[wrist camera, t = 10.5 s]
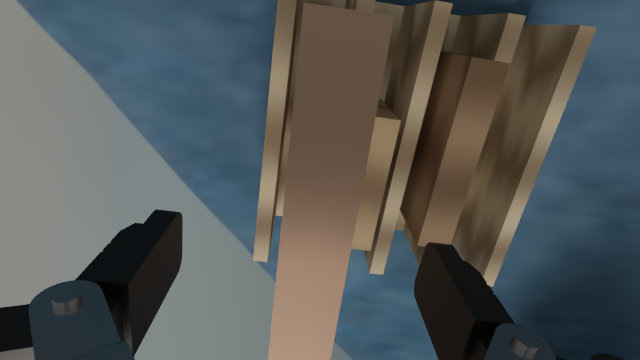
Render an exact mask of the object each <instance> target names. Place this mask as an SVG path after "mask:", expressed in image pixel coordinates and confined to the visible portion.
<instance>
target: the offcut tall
mask: <svg viewBox="0 0 640 360" xmlns="http://www.w3.org/2000/svg"><path fill="white" fill-rule="evenodd" d="M509 66H510V63H505V62H500V61H495V60H489V59H484V58H479V57H474V56H469V55H463V54H458V53H453V52H448V51H442V50H441V52H440V56H439V60H438V64H437V67H436V71H435V75H434V79H433V83H432V87H431V91H430V95H429V98H428V102H427V106H426V110H425V114H424V118H423V122H422V125H421V129H420V133H419V137H418V141H417V145H416V149H415V153H414V156H413V160H412V164H411V168H410V172H409V176H408V180H407V184H406V187H405V191H404V195H403V199H402V203H401V207H400V211H401V213H402V215H403V217H404V220H405V222H406V224H407V226H408V228H409V230H410V232H411V234H412V236H413V238H414V240H415V242H416V244H417V246H424V247H426V245H427V243H429V242H433V243H442V244H450V245H451V242H452V239H453V236H454V233H455V230H456V227H457V224H458V221H459V217H460V214H461V211H462V208H463V205H464V202H465V199H466V196H467V193H468V190H469V187H470V184H471V181H472V178H473V175H474V172H475V169H476V166H477V163H478V160H479V157H480V154H481V151H482V148H483V145H484V142H485V139H486V136H487V133H488V130H489V127H490V124H491V121H492V118H493V115H494V112H495V109H496V106H497V102H498V99H499V96H500V93H501V90H502V87H503V84H504V81H505V78H506V75H507V72H508V69H509Z"/></svg>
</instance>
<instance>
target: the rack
mask: <svg viewBox="0 0 640 360" xmlns="http://www.w3.org/2000/svg"><path fill="white" fill-rule="evenodd" d="M303 3H309V4H316V5H323V6H330V7H337V8H344V9H351V10H359V11H366V12H373V13H380V14H387V15H394V16H395V17H394V22H393V27H392V33H391V38H390V43H389V49H388V54H387V60H386V65H385V70H384V76H383V81H382V86H381V92H380V97H379V98H380V99H381V100H382V101H383V102H384V103H385V104H386V105H387V106H388V107H389V108H390V109H391V110H392V112H393V113H394V114H395V115H396V116H397V117H398V118H399V119H400V120H401V123H400V127H399V131H398V136H397V140H396V144H395V148H394V153H393V157H392V161H391V165H390V170H389V174H388V178H387V182H386V187H385V191H384V195H383V199H382V204H381V208H380V212H379V216H378V220H377V225H376V229H375V233H374V237H373V242H372V246H371V250H370V251H366V250H364V252H365V257H366V261H367V265H368V269H369V273H373V274H382V275H383V273H384V269H385V265H386V261H387V257H388V253H389V249H390V245H391V242H392V238H393V234H394V230H395V229H396V230H403V231H404V233H405V235H406V237H407V240H408V242H409V244H410V246H411V248H412V251H413V253H414V255H415V257H416V259H417V262H418V264H419V266H420V263H421V259H422V256H423V253H424V249H425V247H424V246H417V244H416V242H415V240H414V238H413V236H412V234H411V232H410V230H409V228H408V226H407V224H406V222H405V220H404V217H403V215H402V213H401V211H400V207H401V203H402V199H403V195H404V191H405V187H406V184H407V180H408V176H409V172H410V168H411V164H412V160H413V156H414V153H415V149H416V145H417V141H418V137H419V133H420V129H421V125H422V122H423V118H424V114H425V110H426V106H427V102H428V98H429V95H430V91H431V87H432V83H433V79H434V75H435V71H436V67H437V64H438V60H439V56H440V52H441V50H442V51H448V52H453V53H458V54H463V55H469V56H474V57H479V58H484V59H489V60H495V61H500V62H505V63H510V66H509V69H508V72H507V75H506V78H505V81H504V84H503V87H502V90H501V93H500V96H499V99H498V102H497V106H496V109H495V112H494V115H493V118H492V121H491V124H490V127H489V130H488V133H487V136H486V139H485V142H484V145H483V148H482V151H481V154H480V157H479V160H478V163H477V166H476V169H475V172H474V175H473V178H472V181H471V184H470V187H469V190H468V193H467V196H466V199H465V202H464V205H463V208H462V211H461V214H460V217H459V221H458V224H457V227H456V230H455V233H454V236H453V239H452V243H453V244H454V246H455V247H456V249H457V250H458V252H459V254H460V255H461V257H462V258H463V260H464V261H467V262H468V263H469V264H471V265H472V266H473V267H474V268H476V269H477V270H478V271H479V272H480V273H481V275H482V276H483V278H484V279H485V281H486V282H487V285H489V286H493V285H494V283H495V280H496V278H497V275H498V273H499V270H500V268H501V265H502V263H503V260H504V258H505V256H506V253H507V251H508V248H509V246H510V243H511V241H512V238H513V236H514V233H515V231H516V228H517V226H518V223H519V221H520V218H521V216H522V213H523V211H524V208H525V206H526V203H527V201H528V198H529V196H530V193H531V191H532V188H533V186H534V183H535V181H536V178H537V176H538V173H539V171H540V168H541V166H542V163H543V161H544V158H545V156H546V153H547V151H548V149H549V146H550V144H551V141H552V139H553V136H554V134H555V131H556V129H557V126H558V124H559V121H560V119H561V116H562V114H563V111H564V109H565V106H566V104H567V101H568V99H569V96H570V94H571V91H572V89H573V86H574V84H575V81H576V79H577V76H578V74H579V71H580V69H581V66H582V64H583V61H584V59H585V56H586V54H587V51H588V49H589V46H590V44H591V42H592V39H593V37H594V34H595V32H596V29H597V28H594V27H589V26H583V25H523V24H524V21H525V18H526V16H524V15H518V14H512V13H499V14H483V15H466V16H459V15H453V14H450V13H451V9H452V6H453V3H448V2H442V1H436V0H434V1H429V2H424V3H419V4H414V5H409V6H400V5H394V4H388V3H382V2H376V0H278V2H277V13H276V23H275V34H274V45H273V55H272V66H271V76H270V87H269V98H268V108H267V119H266V129H265V140H264V150H263V161H262V172H261V182H260V193H259V203H258V214H257V225H256V235H255V246H254V256H253V260H254V261H262V262H267V261H268V255H269V250H270V244H271V239H272V233H273V227H274V222H275V216H276V215H277V216H282V215H283V204H284V194H285V184H286V174H287V164H288V154H289V144H290V134H291V124H292V114H293V104H294V94H295V84H296V74H297V64H298V54H299V44H300V34H301V23H302V13H303Z"/></svg>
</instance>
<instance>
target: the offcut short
mask: <svg viewBox="0 0 640 360" xmlns="http://www.w3.org/2000/svg"><path fill="white" fill-rule="evenodd" d="M400 123H401V120H400V119H399V118H398V117H397V116H396V115H395V114H394V113H393V112H392V110H391V109H390V108H389V107H388V106H387V105H386V104H385V103H384V102H383V101H382V100H381V99H380V98H379V102H378V108H377V113H376V118H375V124H374V129H373V134H372V140H371V145H370V151H369V156H368V161H367V167H366V172H365V177H364V183H363V188H362V193H361V199H360V204H359V209H358V215H357V220H356V225H355V231H354V236H353V242H352V247H351V249H357V250H366V251H370V250H371V246H372V242H373V237H374V233H375V229H376V225H377V220H378V216H379V212H380V208H381V204H382V199H383V195H384V191H385V187H386V182H387V178H388V174H389V170H390V165H391V161H392V157H393V153H394V148H395V144H396V140H397V136H398V131H399V127H400Z"/></svg>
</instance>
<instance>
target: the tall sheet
mask: <svg viewBox="0 0 640 360" xmlns="http://www.w3.org/2000/svg"><path fill="white" fill-rule="evenodd" d="M394 17H395V16H394V15H387V14H380V13H373V12H366V11H359V10H351V9H344V8H337V7H330V6H323V5H316V4H309V3H303V13H302V23H301V34H300V44H299V54H298V64H297V74H296V84H295V94H294V104H293V114H292V124H291V134H290V144H289V154H288V164H287V174H286V184H285V194H284V204H283V215H282V225H281V235H280V245H279V255H278V265H277V275H276V286H275V295H274V305H273V315H272V325H271V335H270V345H269V355H268V360H330V359H331V353H332V349H333V343H334V338H335V333H336V327H337V322H338V316H339V311H340V306H341V300H342V295H343V290H344V284H345V279H346V274H347V268H348V263H349V258H350V252H351V247H352V242H353V236H354V231H355V225H356V220H357V215H358V209H359V204H360V199H361V193H362V188H363V183H364V177H365V172H366V167H367V161H368V156H369V151H370V145H371V140H372V134H373V129H374V124H375V118H376V113H377V108H378V102H379V97H380V92H381V86H382V81H383V76H384V70H385V65H386V60H387V54H388V49H389V43H390V38H391V33H392V27H393V22H394Z"/></svg>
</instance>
